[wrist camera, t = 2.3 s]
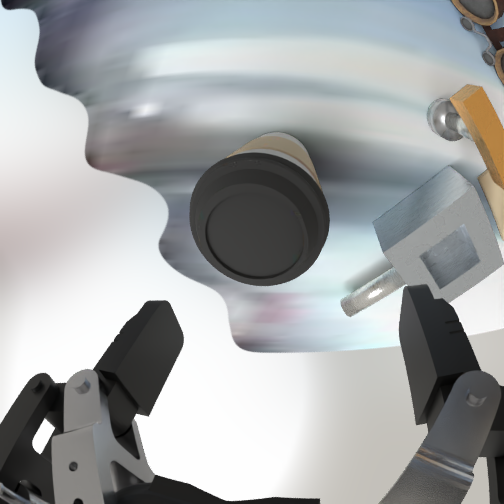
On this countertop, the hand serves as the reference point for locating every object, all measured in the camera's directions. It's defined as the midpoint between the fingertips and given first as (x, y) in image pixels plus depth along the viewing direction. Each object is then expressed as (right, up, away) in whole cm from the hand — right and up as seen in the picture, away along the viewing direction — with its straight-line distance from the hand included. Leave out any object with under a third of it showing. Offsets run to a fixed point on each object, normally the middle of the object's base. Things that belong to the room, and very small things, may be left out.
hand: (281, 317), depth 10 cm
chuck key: (+18, +15, +13) cm, 27 cm away
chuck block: (+17, +3, +22) cm, 28 cm away
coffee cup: (+2, +11, +20) cm, 23 cm away
